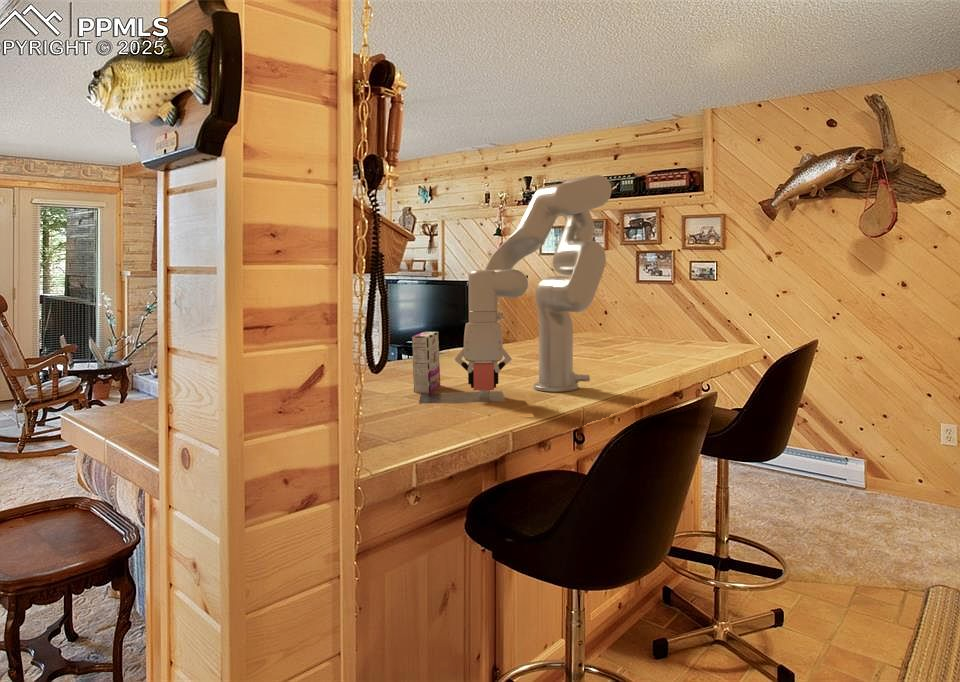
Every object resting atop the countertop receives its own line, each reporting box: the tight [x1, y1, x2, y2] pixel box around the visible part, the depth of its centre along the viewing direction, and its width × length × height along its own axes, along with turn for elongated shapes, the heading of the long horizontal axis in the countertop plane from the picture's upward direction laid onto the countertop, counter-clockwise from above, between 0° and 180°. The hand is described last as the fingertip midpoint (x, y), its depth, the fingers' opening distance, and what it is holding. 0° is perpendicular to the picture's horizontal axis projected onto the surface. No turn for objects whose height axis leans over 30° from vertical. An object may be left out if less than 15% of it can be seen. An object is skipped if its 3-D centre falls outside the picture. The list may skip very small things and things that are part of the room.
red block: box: [472, 362, 495, 391], centre depth 170 cm, size 5×5×7 cm
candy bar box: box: [411, 331, 441, 394], centre depth 183 cm, size 11×5×16 cm, turn 168°
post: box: [418, 390, 506, 405], centre depth 171 cm, size 22×13×6 cm, turn 93°
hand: (483, 386), depth 171 cm, fingers closed on red block, 5 cm apart
